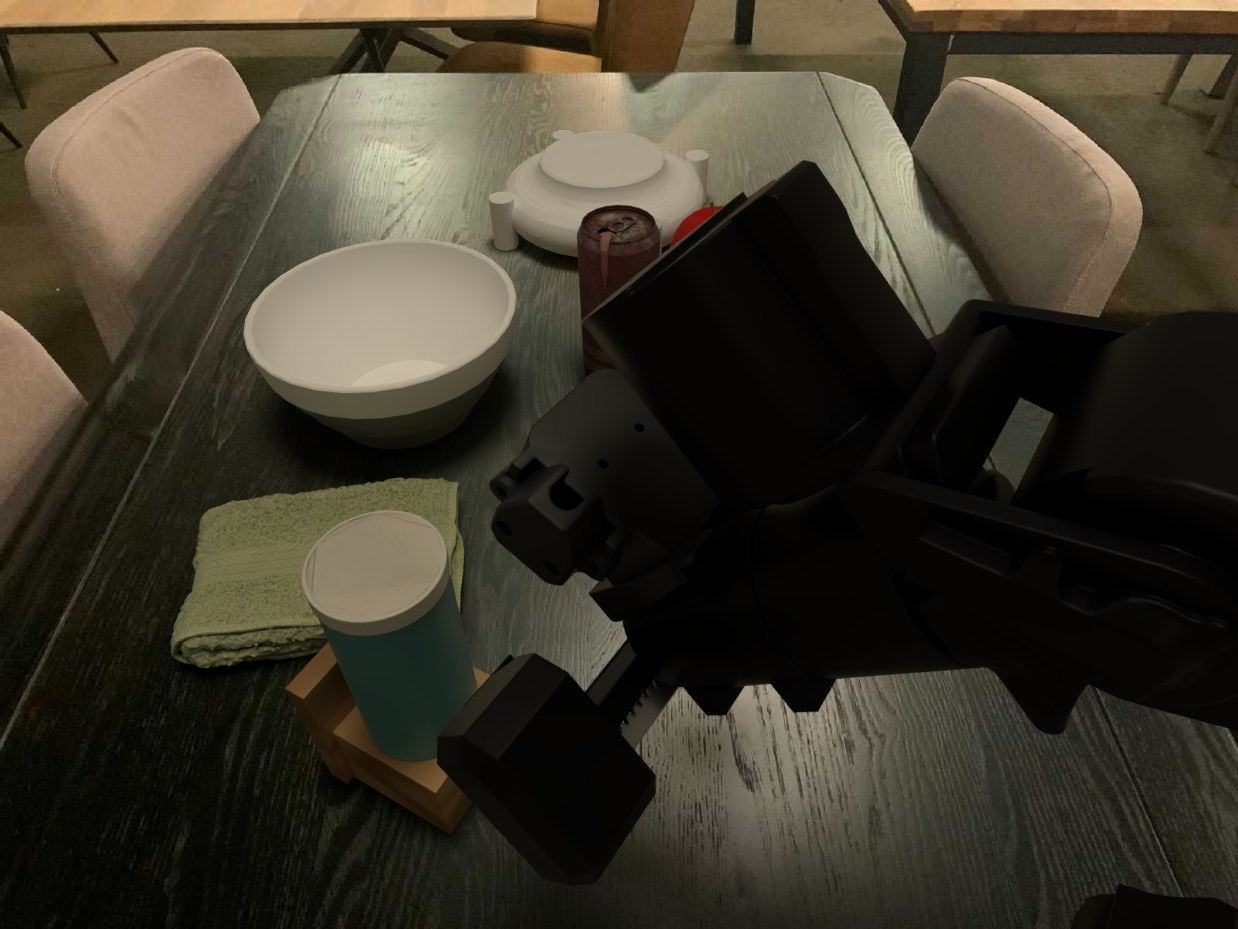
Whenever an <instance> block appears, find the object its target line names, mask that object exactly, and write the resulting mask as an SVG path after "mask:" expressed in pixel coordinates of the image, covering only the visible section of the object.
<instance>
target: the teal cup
mask: <svg viewBox="0 0 1238 929" xmlns="http://www.w3.org/2000/svg"><path fill="white" fill-rule="evenodd" d="M302 587H303V591H304V594H305V596H306V598H307V601H308V603H309V605H310V607H311V609H312V611H313V613H314V614H315V615H316V617H317V618H318V619H319V621H320V624H321V626H322V628H323V630H324V633H325V635H326V637H327V639H328V642H329V644H330V646H331V649H332V651H333V653H334V655H335V658H336V660H337V662H338V664H339V667H340V669H341V671H342V673H343V676H344V678H345V680H346V682H347V685H348V687H349V689H350V692H351V694H352V696H353V698H354V701H355V703H356V705H357V707H358V710H359V712H360V714H361V716H362V719H363V721H364V723H365V726H366V728H367V730H368V732H369V735H370V737H371V739H372V740H373V742H374V743H375V745H376V746H377V747H378V748H379V749H380V750H381V751H382V752H384V753H385V754H387V755H389V756H391V757H393V758H396V759H399V760H403V761H425V760H430V759H433V758H436V757H437V737H438V735H439V734H440V733H441V732H442V731H443V730H444V729H445V727H446V726H447V725H448V724H449V723H450V722H451V721H452V720H453V719H454V717H455V716H456V715H457V714H458V713H459V712H460V711H461V709H462V707H463V706H464V704H465V703H466V702H467V701H468V700H469V699H470V698H471V697H472V696H473V694H474V693H475V692H476V691H477V690H478V686H477V682H476V678H475V674H474V670H473V667H474V665H473V662H472V659H471V654H470V649H469V646H468V642H467V637H466V632H465V629H464V625H463V621H462V620H463V619H462V617H461V616H462V615H461V611H460V612H459V608H458V604H457V599H456V595H455V591H454V587H453V583H452V579H451V574H450V561H449V556H448V552H447V548H446V544H445V541H444V539H443V537H442V535H441V533H440V532H439V531H438V530H437V528H436V527H435V526H433V525H432V524H431V523H430V522H428V521H427V520H426V519H424V518H422V517H420V516H418V515H415V514H412V513H408V512H403V511H395V510H384V511H375V512H369V513H365V514H361V515H358V516H355V517H353V518H350V519H348V520H346V521H344V522H342V523H340V524H338V525H337V526H335V527H334V528H332V529H331V530H329V531H328V532H327V533H326V534H324V535H323V536H322V537H321V538H320V539H319V540H318V541H317V543H316V544H315V545H314V546H313V548H312V549H311V550H310V552H309V554H308V556H307V558H306V560H305V563H304V565H303V570H302Z"/></svg>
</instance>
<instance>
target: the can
mask: <svg viewBox="0 0 1238 929" xmlns="http://www.w3.org/2000/svg"><path fill="white" fill-rule="evenodd" d="M577 250H578V257H577V265H578V266H577V267H578V286H579V307H580V308H579V309H580V325H581V326H580V327H581V344H582V345H581V346H582V364H583V372H584V376H585V378H586V377H587V376H588V375H590V374H591V373H593V372H595V371H597V370H601V369H612V370H617V371H618V369H617V368H616V367H615V366H614V364H613V363H612V362H611V360H610V359H609V358H608V357H607V355H606V354H605V353H604V351H603V350H602V349H601V348H600V346H599V345H598V344H597V342H596V341H595V340H594V339H593V337H592V336H591V335H590V333H589V332H588V331H587V330H586V328H585V327H584V326H583V324H582V323H581V321H582V320H583V319H584V318H585V317H586V316H587V315H588V314H590V313H591V312H592V311H593V310H594V309H595V308H597V307H598V306H599V305H600V304H601V303H603V302H604V301H605V300H606V299H607V298H609V297H610V296H611V295H612V294H613V293H615V292H616V291H617V290H618V289H620V288H621V287H622V286H623V285H625V284H626V283H627V282H628V281H629V280H631V279H632V278H633V277H634V276H636V275H637V274H638V273H639V272H641V271H642V270H643V269H644V268H646V267H647V266H648V265H649V264H651V263H652V262H653V261H654V260H656V259H657V258H658V257H659V256H660V231H659V229H658V226H657V225H656V222H655V219H654V217H653V216H652V215H651V214H650V213H649V212H648V211H645V210H643V209H641V208H638V207H634V206H630V205H610V206H604V207H600V208H597V209H595V210H593V211H591V212H589V213H587V214H586V215H585V216H584V217H583V219H582V222H581V225H580V227H579V230H578V232H577Z"/></svg>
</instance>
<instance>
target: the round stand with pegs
mask: <svg viewBox="0 0 1238 929" xmlns="http://www.w3.org/2000/svg"><path fill="white" fill-rule="evenodd" d="M551 137H552V138H551V139H552V143H551V144H549V145H548V146H547V147H546V148H544V150H542V151H540V152H538V153H536V154H533V155H531V156H530V157H528V158H527V159H524V161H522V162H521V163H520V164H519V165H517V166H516V167H515V169H513V171H512V172H511V173H510V174H509V176H508V178H507V179H506V181H505V184H504V187H503V191H495V192H492V193H491V194H490V195H489V196H488V205H489V212H490V220H491V229H492V235H493V244H494V248H495V249H496V250H499V251H503V252H507V251H513V250H515V249H517V248H518V247H519V246H520V238H519V235H520V236H521V237H522V238H523V239H524V240H526V241H527V242H529V243H531V244H533V245H534V246H537V247H539V248H540V249H543V250H546V251H549V252H551V253H552V252H553V253H554V254H559V255H564V256H568V257H569V256H570V257H573V258H578V250H577V232H578V230H579V227H580V225H581V222H582V219H583V217H584V216H585V215H586V214H587V213H589V212H591V211H593V210H595V209H597V208H600V207H604V206H610V205H630V206H634V207H638V208H641V209H643V210H645V211H648V212H649V213H650V214H651V215H652V216H653V217H654V219H655V222H656V225H657V226H658V229H659V231H660V256H661V255H662V250H663V248H664V247H666V246H668V245H671V242H672V239H673V236H674V234H675V232H676V230H677V228H678V227H679V225H680V224H681V222H682V221H683V220H684V219H685V218H686V217H688V216H689V215H690V214H692V213H693V212H695V211H697V210H699V209H702V208H704V207H703V206H704V204H706V202H707V194H708V193H707V192H708V177H709V161H710V160H709V159H710V154H709V152H707V151H705V150H702V149H691V150H688V151H687V152H685V154H684V159H683V158H681V157H680V156H678V155H677V154H675V153H673V152H671V151H669V150H667V149H664V148H662V147H660V146H659V145H657V143H655V142H653V141H652V140H650V139H648V138H645V137H643V136H641V135H637V134H634V133H629V132H622V131H618V130H617V131H616V130H615V131H614V130H594V131H593V130H592V131H587V132H586V131H585V132H579V133H575V132H574V131H572V130H570V129H559V130H555V131H554V132H552V134H551Z"/></svg>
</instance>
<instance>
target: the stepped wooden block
mask: <svg viewBox="0 0 1238 929" xmlns="http://www.w3.org/2000/svg"><path fill="white" fill-rule="evenodd" d="M473 670H474V674H475V678H476V682H477V686H478V689H479V688H480V687H481V685H482V684H483V683H484V682H485V681H486V680H487V679H488V678H489V677H490V675H491V674H488V673H487V672H485V671H483V670H481V669H478V668H477V667H475V666H473ZM285 691H286V693H287V695H288V697H289V698H290V700H291V702H292V704H293V706H294V708H295V709H296V712H297V713H298V715H299V717H300V719H301V721H302V723H303V724H304V726H305V728H306V730H307V731H308V733H309V735H310V738H311V739H312V741H313V743H314V745H315V746H316V748H317V750H318V753H319V754H320V756H321V757H322V760H323V761H324V764H325V766H326V767H327V769H328V770H329V773H330V774H331V775H332V776H333V777H335V778H336V779H338V780H340V781H341V782H343V783H345V784H346V785H349V784H350V782H352V780H353V779H354V778H355V779H357V780H359V781H360V782H362V783H364V784H365V785H367V786H369V787H370V788H372V789H374V790H375V791H377V792H379V793H380V794H382V795H383V796H385V797H387V798H388V799H389V800H392V801H393V802H395V803H397V804H399V805H400V806H402V807H404V808H405V809H407V810H409V811H410V812H412V813H413V814H415V815H416V816H419V817H420V818H422V819H423V820H425V821H427V822H428V823H430V824H432V825H433V826H435V827H437V828H439V829H440V830H441V831H443V832H445V833H447V834H448V835H452V834H453V832H454V831H455V830H456V828H457V827H458V826H459V824H460V822H461V821H462V820H463V818H464V817H465V815H466V814H467V813H468V810H469V809H470V808H471V806H472V805H473V803H472V802H471V801H470V800H469V798H468V797H467V796H466V795H465V794H464V793H463V792H462V791H461V790H460V789H459V788H458V786H457V785H456V784H455V783H454V782H453V781H452V780H451V779H450V778H449V777H448V776H447V775H446V773H445V772H444V771H443V770H442V769H441V768H440V767H439V766H438V765H437V757H436V758H433V759H430V760H425V761H403V760H399V759H396V758H393V757H391V756H389V755H387V754H385V753H384V752H382V751H381V750H380V749H379V748H378V747H377V746H376V745H375V743H374V742H373V740H372V739H371V737H370V735H369V732H368V730H367V728H366V726H365V723H364V721H363V719H362V716H361V714H360V712H359V710H358V707H357V705H356V703H355V701H354V698H353V696H352V694H351V692H350V689H349V687H348V685H347V682H346V680H345V678H344V676H343V673H342V671H341V669H340V667H339V664H338V662H337V660H336V658H335V655H334V653H333V651H332V649H331V646H330V644H329V642H328V643H327V644H326V645H325V646H324V647H323V648H322V649H321V650H320V651H319V652H318V653H316V654H315V655H314V656H313V658H312V659H311V660H310V661H309V662H308V663H307V664H306V665H305V666H304V667H303V668H302V669H301V670H300V671H299V673H298V674H297V675H296V676H295V677H294V678H293V679H292V680H291V681H290V682H289V684H287V685H286V687H285Z"/></svg>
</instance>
